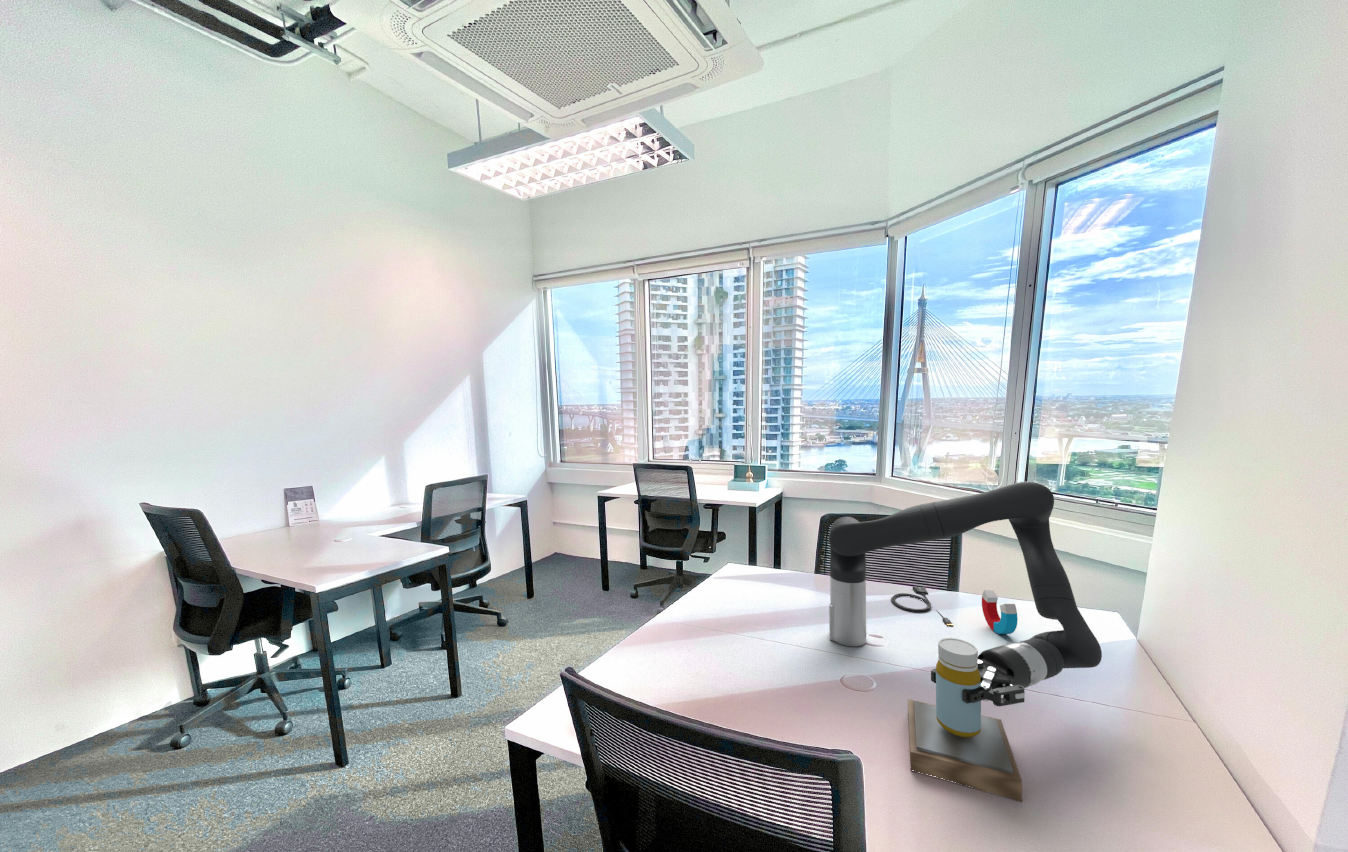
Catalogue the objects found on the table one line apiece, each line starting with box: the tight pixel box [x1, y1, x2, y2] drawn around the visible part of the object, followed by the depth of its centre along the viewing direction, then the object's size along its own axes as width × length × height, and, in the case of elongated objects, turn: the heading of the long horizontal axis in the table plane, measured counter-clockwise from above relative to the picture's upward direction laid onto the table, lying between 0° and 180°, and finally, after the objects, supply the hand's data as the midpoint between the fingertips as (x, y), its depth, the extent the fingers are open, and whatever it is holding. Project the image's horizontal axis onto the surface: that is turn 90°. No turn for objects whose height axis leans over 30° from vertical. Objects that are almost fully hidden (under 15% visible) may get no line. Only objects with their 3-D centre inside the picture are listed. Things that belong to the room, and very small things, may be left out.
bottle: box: [935, 637, 982, 738], centre depth 85 cm, size 7×7×15 cm
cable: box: [890, 585, 954, 627], centre depth 149 cm, size 14×28×2 cm, turn 167°
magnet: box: [981, 589, 1019, 635], centre depth 130 cm, size 12×3×10 cm, turn 176°
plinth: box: [907, 699, 1023, 803], centre depth 86 cm, size 16×16×4 cm
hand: (948, 686), depth 84 cm, fingers closed on bottle, 5 cm apart
